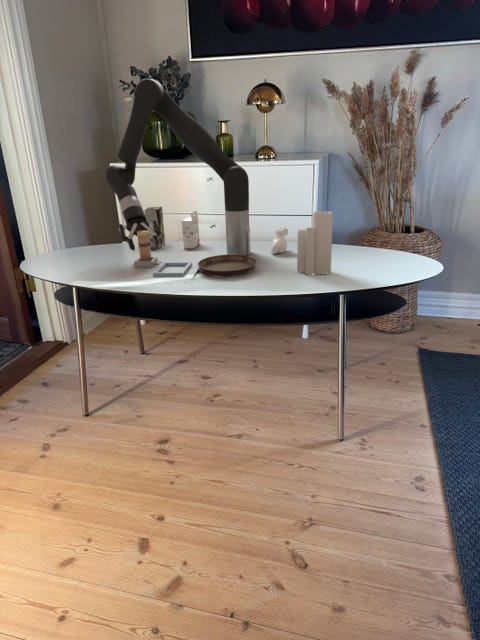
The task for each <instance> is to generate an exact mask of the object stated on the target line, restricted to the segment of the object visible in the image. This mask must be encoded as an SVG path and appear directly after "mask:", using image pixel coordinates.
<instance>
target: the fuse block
mask: <svg viewBox="0 0 480 640" xmlns="http://www.w3.org/2000/svg"><path fill="white" fill-rule="evenodd" d="M151 259H152V260H151V261H140V256H139V257H138V258H136V259H135V260H134V261H133V264H132V265H131V266H130V267H129V268H131V269H135V268H136V269H137V268H141V269H142V268H151V269H152V268H156V269H158V268H159V267H160V266H161V265H162V264H163V261H158V260H159V259H158V256H151Z"/></svg>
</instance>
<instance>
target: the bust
mask: <svg viewBox="0 0 480 640" xmlns="http://www.w3.org/2000/svg"><path fill="white" fill-rule="evenodd" d="M274 233H275V235H276V236H275V237H274V238H273V239H272V241H271V243H270V246H269V251H270V254H272V255H275V254H283V253H285V251H286V249H287V248H288V244H287V243H288V241H287V239H286V238H285V236H288V235H289V229H288V228H287V227H286V226H284V227H283V226H280V227H278V228H277V229H276V231H275V232H274Z"/></svg>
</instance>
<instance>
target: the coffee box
mask: <svg viewBox="0 0 480 640" xmlns="http://www.w3.org/2000/svg"><path fill="white" fill-rule="evenodd" d="M143 211H144V214H145V217H146V220H147V222H149V223H150V222H153V221H154V220H155V221H156V222H157V224H158V227H159V229H160V231H161V234H160V237H157V238H158V241H159V245H158V247H157V248H163V246H164V245H165V244H166V236H165V226H164V225H165V223H164V214H163V213H164V212H163V206H152V207H149V206H148V207H147V208H145V209H143ZM149 228H151V226H149ZM151 229H152V228H151ZM152 231H154V229H152ZM154 232H155V231H154ZM149 240H150V249H151V248H155V245H154V243H153V239H152V238H151V237H149Z"/></svg>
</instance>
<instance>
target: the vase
mask: <svg viewBox="0 0 480 640" xmlns="http://www.w3.org/2000/svg"><path fill="white" fill-rule="evenodd" d="M333 219H334V213H333V211H328V210H319V211H313V212H312V227H307V228H306V229H299V230H297V241H296V242H297V248H296V249H297V251H296V252H297V255H296V256H297V257H296V259H297V260H296V272H297V271H298V272H297V273H299V272H302V273H301V274H305V275H306V274H307V275H306V276H313V275H312V274H314V273H315V274H314V275H316V274H327V273H330V272H332V248H333V221H334V220H333ZM330 274H331V273H330ZM327 275H328V274H327Z"/></svg>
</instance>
